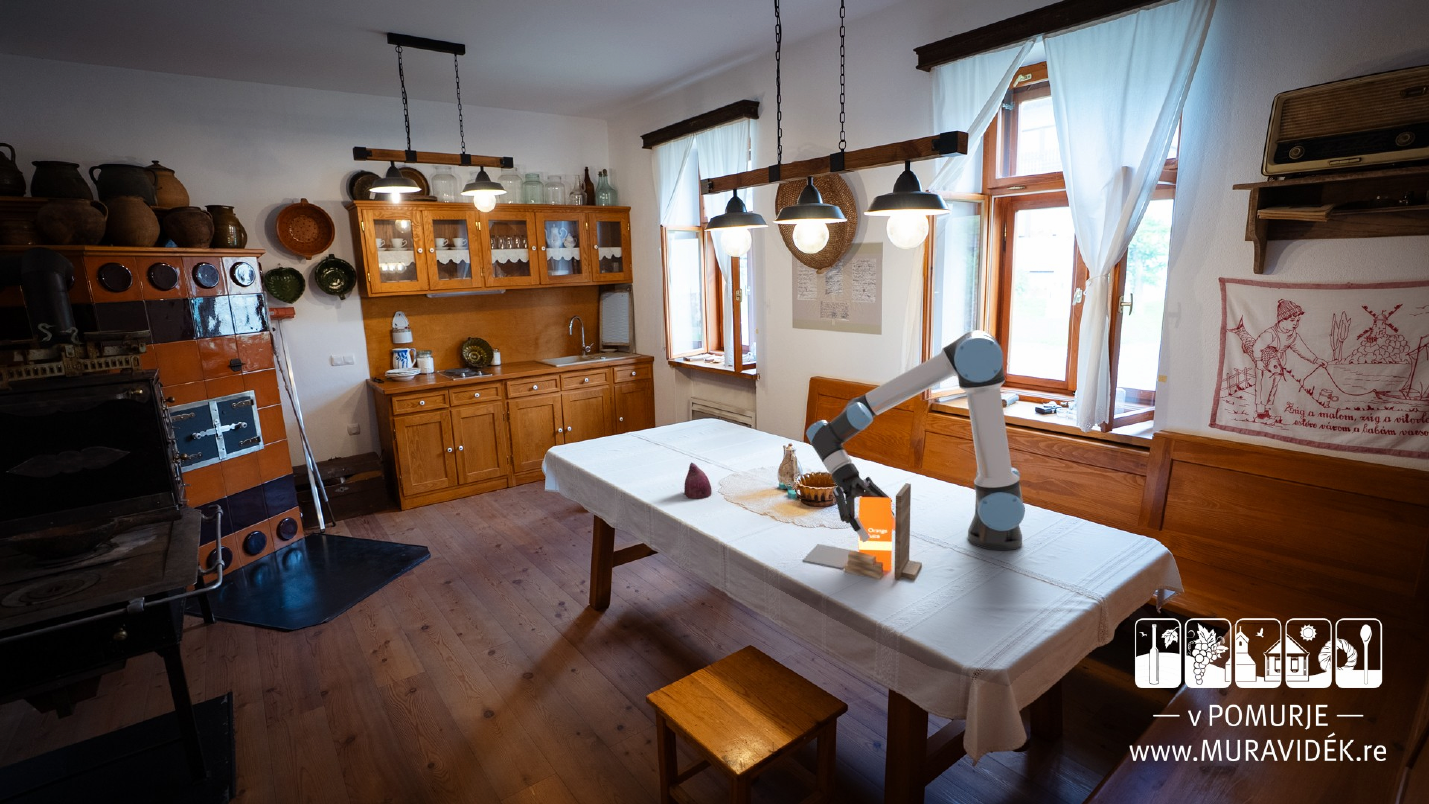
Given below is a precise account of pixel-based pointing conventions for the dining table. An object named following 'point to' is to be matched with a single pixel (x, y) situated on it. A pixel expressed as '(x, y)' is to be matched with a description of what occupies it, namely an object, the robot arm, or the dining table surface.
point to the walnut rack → (903, 566)
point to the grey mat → (828, 556)
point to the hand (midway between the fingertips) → (882, 534)
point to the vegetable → (696, 483)
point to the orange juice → (877, 528)
